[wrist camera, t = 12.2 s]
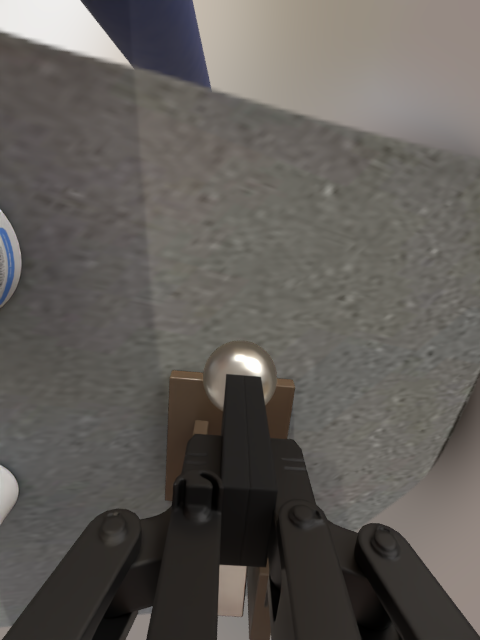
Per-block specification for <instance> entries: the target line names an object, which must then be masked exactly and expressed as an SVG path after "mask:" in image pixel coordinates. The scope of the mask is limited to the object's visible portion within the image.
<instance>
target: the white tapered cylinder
mask: <svg viewBox="0 0 480 640" xmlns="http://www.w3.org/2000/svg"><path fill="white" fill-rule="evenodd" d="M18 494H19V487H18V483H17V481H16V479H15V477H14V476H13V474H12V473H11V472H10V471H9V470H8V469H6V468H5V467H3V466H2V465H0V525H1V524H2V522H3V520H4V519H5V518H6V516H7V515H8V513H9V512H10V511H11V509H12V508H13V506H14V505H15V503H16V501H17V498H18Z"/></svg>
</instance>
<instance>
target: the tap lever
mask: <svg viewBox="0 0 480 640" xmlns="http://www.w3.org/2000/svg"><path fill="white" fill-rule="evenodd" d="M226 374H233V375H246V376H258V377H261V380H262V387H263V393H264V400H265V405H266V404H267V403H268V402H269V401H270V399H271V398H272V396H273V394H274V392H275V389H276V384H277V372H276V367H275V365H274V362H273V360H272V358H271V357H270V355H269V354H268V353H267V352H266V351H265V350H264V349H263V348H261V347H260V346H258V345H257V344H254V343H252V342H248V341H232V342H228V343H226V344H223V345H222V346H220V347H219V348H217V349H216V350H215V351H214V352H213V353H212V354H211V355H210V357H209V358H208V360H207V362H206V364H205V367H204V371H203V385H204V389H205V392H206V394H207V396H208V398H209V399H210V401H211V402H212V403H213V404H214V405H215V406H216V407H217V408H218V409H220V410H221V411H223V405H224V394H225V383H226ZM247 568H248V566H231V565H220V567H219V594H218V616H234V617H242V616H243V609H244V600H245V589H246V579H247Z"/></svg>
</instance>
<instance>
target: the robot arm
mask: <svg viewBox="0 0 480 640" xmlns="http://www.w3.org/2000/svg"><path fill="white" fill-rule="evenodd" d="M267 559H268V562H269V577H268V583H267V590H266V596H265V603H264V607H268V605H269V614H270V627H271V639H272V640H480V636H479V635H478V634H477V632H476V631H475V630H474V629H473V627H472V626H471V624H470V623H469V622H468V621H467V619H466V618H465V617H464V615H463V614H462V613H461V611H460V610H459V609H458V607H457V606H456V605H455V604H454V602H453V601H452V600H451V598H450V597H449V596H448V594H447V593H446V592H445V591H444V589H443V588H442V586H441V585H440V584H439V583H438V581H437V580H436V578H435V577H434V576H433V575H432V573H431V572H430V571H429V569H428V568H427V567H426V566H425V564H424V563H423V561H422V560H421V559H420V558H419V556H418V555H417V554H416V552H415V551H414V550H413V548H412V547H411V546H410V544H409V543H408V542H407V541H406V539H405V538H404V537H403V536H402V535H401V534H400V533H398V532H397V531H395V530H394V529H392V528H390V527H388V526H385V525H382V524H379V523H370V524H367V525H364V526H363V527H362V528H361V529H360V531H359V532H358V533H356V532H354V531H351V530H348V529H345V528H342V527H340V526H337V525H335V524H333V523H332V522H330V521H329V520H327V518H326V516H325V514H324V512H323V511H322V510H321V509H320V508H319V507H318V506H317V505H316V503H315V499H314V495H313V492H312V488H311V484H310V480H309V477H308V473H307V471H306V465H305V462H304V458H303V454H302V450H301V448H300V447H299V446H298V445H297V444H296V442H295V441H294V440H292V439H278V438H270V434H269V427H268V420H267V414H266V407H265V400H264V393H263V387H262V380H261V377H258V376H246V375H233V374H226V383H225V394H224V405H223V416H222V427H221V435H207V434H194V435H193V436H192V438H191V439H190V440H189V441H188V442H187V446H186V452H185V457H184V463H183V467H182V472H181V474H180V475H179V476H178V477H177V478H176V480H175V482H174V484H173V497H172V506H171V507H170V508H169V509H168V510H167V511H165V512H163V513H162V514H160V515H157V516H154V517H150V518H146V519H141V520H140V519H139V518H138V516H137V515H136V514H135V513H133V512H131V511H129V510H126V509H114V510H109V511H106V512H104V513H102V514H100V515H98V516H97V517H96V518H95V519H94V520H93V521H91V522H90V523H89V525H88V526H87V527H86V529H85V530H84V531H83V533H82V534H81V535H80V537H79V538H78V539H77V541H76V542H75V543H74V545H73V546H72V547H71V549H70V550H69V551H68V553H67V554H66V555H65V557H64V558H63V559H62V561H61V562H60V563H59V565H58V566H57V567H56V569H55V570H54V571H53V573H52V574H51V575H50V577H49V578H48V579H47V581H46V582H45V583H44V585H43V586H42V587H41V589H40V590H39V591H38V593H37V594H36V595H35V597H34V598H33V599H32V600H31V602H30V603H29V604H28V606H27V607H26V608H25V610H24V611H23V612H22V614H21V615H20V616H19V618H18V619H17V620H16V622H15V623H14V624H13V626H12V627H11V628H10V630H9V631H8V632H7V634H6V635H5V636H4V638H3V639H2V640H126V637H127V635H128V633H129V631H130V629H131V627H132V625H133V622H134V620H135V618H136V616H137V614H138V610H141V609H144V608H147V607H151V606H153V608H152V613H151V619H150V624H149V629H148V634H147V639H146V640H217V621H218V620H217V619H218V594H219V567H220V565H231V566H249V567H266V565H267Z"/></svg>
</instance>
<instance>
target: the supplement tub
mask: <svg viewBox="0 0 480 640" xmlns="http://www.w3.org/2000/svg"><path fill="white" fill-rule="evenodd" d="M21 266H22V260H21V252H20V247H19V243H18V240H17V237H16V234H15V232H14V230H13V228H12V226H11V224H10V222H9V221H8V219H7V217H6V216H5V215H4V213H3V212H2V211H1V209H0V308H1V307H2V306H3V305H4V304H5V303H6V302H7V301H8V300H9V299H10V298H11V296H12V294H13V293H14V291H15V289H16V287H17V285H18V282H19V278H20V274H21Z"/></svg>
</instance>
